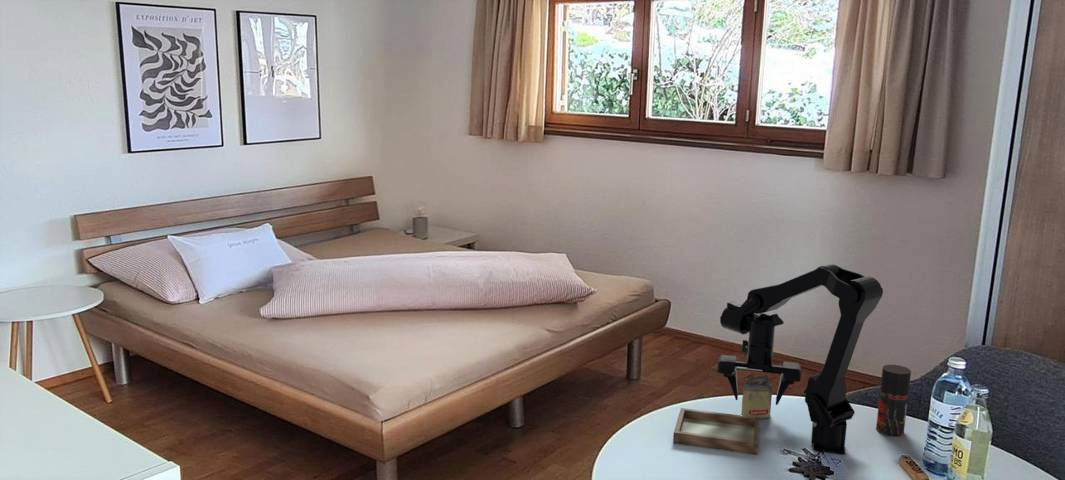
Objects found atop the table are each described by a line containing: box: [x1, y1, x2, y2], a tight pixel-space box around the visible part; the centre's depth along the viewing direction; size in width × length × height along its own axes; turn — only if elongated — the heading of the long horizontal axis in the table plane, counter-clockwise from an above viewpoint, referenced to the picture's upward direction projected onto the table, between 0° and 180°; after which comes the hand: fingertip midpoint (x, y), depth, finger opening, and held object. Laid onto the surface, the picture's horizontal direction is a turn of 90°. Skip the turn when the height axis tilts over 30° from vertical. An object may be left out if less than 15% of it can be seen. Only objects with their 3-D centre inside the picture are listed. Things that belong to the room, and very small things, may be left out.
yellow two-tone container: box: [740, 374, 773, 419], centre depth 201 cm, size 7×4×10 cm, turn 99°
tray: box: [672, 407, 761, 456], centre depth 190 cm, size 18×14×3 cm
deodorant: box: [875, 364, 912, 438], centre depth 193 cm, size 6×6×15 cm
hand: (756, 402), depth 201 cm, fingers open, 9 cm apart
